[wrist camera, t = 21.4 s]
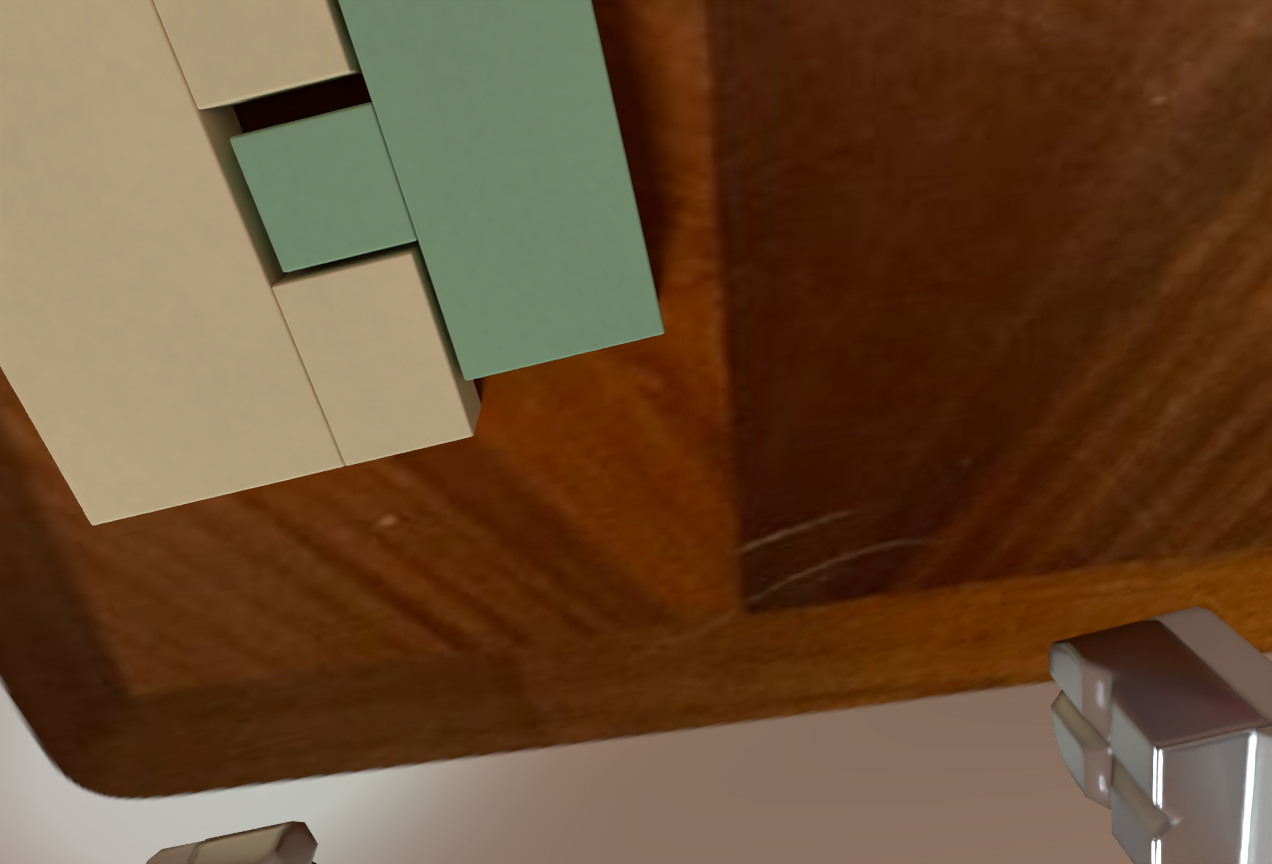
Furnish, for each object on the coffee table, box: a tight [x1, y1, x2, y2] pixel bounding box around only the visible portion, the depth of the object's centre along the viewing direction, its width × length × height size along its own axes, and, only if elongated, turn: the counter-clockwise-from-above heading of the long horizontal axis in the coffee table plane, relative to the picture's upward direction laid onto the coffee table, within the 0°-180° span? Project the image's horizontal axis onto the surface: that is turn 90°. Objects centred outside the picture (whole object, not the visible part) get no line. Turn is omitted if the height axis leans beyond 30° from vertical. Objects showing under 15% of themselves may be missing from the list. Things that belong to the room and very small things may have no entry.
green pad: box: [230, 0, 665, 380], centre depth 23 cm, size 12×10×2 cm
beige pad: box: [0, 0, 481, 525], centre depth 23 cm, size 16×12×2 cm
